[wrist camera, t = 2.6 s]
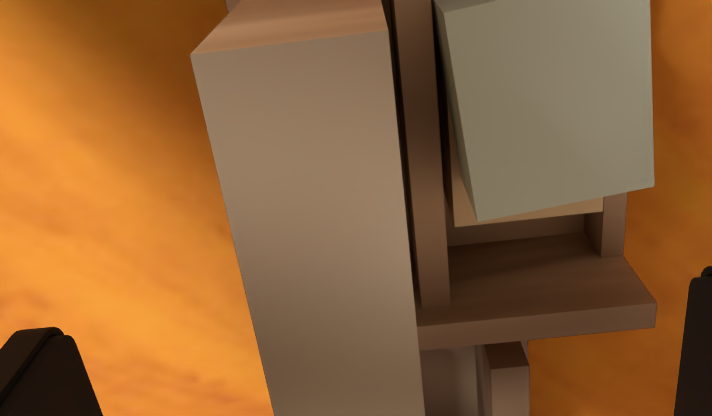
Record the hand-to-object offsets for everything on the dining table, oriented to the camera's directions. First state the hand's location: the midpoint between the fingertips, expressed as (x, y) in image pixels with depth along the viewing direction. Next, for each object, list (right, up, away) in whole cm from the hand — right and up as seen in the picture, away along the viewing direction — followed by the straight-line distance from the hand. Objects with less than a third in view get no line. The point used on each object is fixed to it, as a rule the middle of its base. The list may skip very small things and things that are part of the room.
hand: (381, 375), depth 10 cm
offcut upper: (+5, +7, +10) cm, 13 cm away
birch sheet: (-1, +7, +13) cm, 15 cm away
